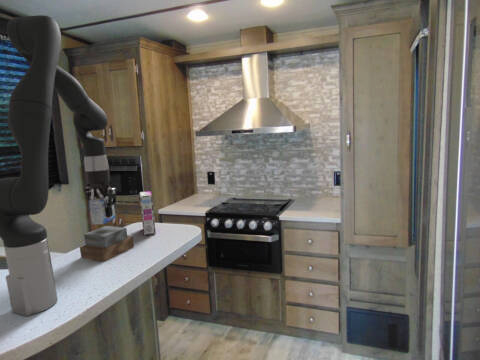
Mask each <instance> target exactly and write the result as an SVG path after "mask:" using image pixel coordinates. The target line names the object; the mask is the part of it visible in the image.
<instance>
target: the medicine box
mask: <svg viewBox="0 0 480 360" xmlns="http://www.w3.org/2000/svg"><path fill="white" fill-rule="evenodd" d="M104 198H107V196H106V197H104ZM106 201H107V203H108V200H106ZM112 201H113V199H112ZM88 205H89V213H90V218H91V223H92V225H105V224H107V223H109V222H111V221H113V220H114V219H116V212H115V204H114V205H112V212H113V214H112V216H111V217H109V218H108V217H106V213H105V205H104V201H103V200H102V199H100V198H95V199H92V200H91V199H90V201H89V204H88Z"/></svg>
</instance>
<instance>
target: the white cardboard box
mask: <svg viewBox="0 0 480 360" xmlns="http://www.w3.org/2000/svg"><path fill="white" fill-rule="evenodd" d="M139 201H140V203H139V204H140V212H141V221H142V230H143V236H144V237H145V236H151V235H152V236H153V235H156V225H155V224H156V222H155V213H154V212H155V211H154V202H153V201H154V200H153V195H152V191H150V190H149V191H140V192H139Z"/></svg>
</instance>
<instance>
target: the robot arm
mask: <svg viewBox="0 0 480 360" xmlns="http://www.w3.org/2000/svg"><path fill="white" fill-rule="evenodd" d="M6 32H7V37H8V39H9V41H10V44H12V46H13V47H14V49H15V50H16V51H17V52H18V53H19V54H20V55H21V56H22V57H23V59H24V60H26V61H27V62H28V63H29V64H30V66H29V68H28V69H27V70H26V72H25V73H24V74H23V76H22V77H21V79H20V80H19V81H18V82H17V84H16V85H15V87H14V88H13V90H12V92H11V95H10V97H9V102H8V110H7V111H8V113H7V126H8V128H9V130H10V133H11V136H12V137H13V138H14V140H15V143H16V144H17V147H18V149H19V152H20V159H21V161H20V162H21V167H20V176H14V177H12V176H11V177H3V178H0V239H1V240H2V242H3V243H2V244H3V247H4V254H5V258H6V263H7V264H6V265H7V269H8V274H7V275H6V276H5V280H6V288H7V291H8V298H9V301H10V307H11V313H15V314H18V315H21V316H24V317H29V316H31V315H33V314H37V313H41V312H43V311H46V310H47V309H51V307H53V306H54V305H56V303H57V302H58V295H57V294H58V293H57V292H58V291H57V290H56V289H57V288H56V283H55V277H54V270H53V264H52V258H51V257H52V256H51V252H50V245H49V240H48V239H49V238H48V233H47V229H46V227H45V225H42V224H40V223H38V222H36V221H35V220H33V219H32V218H31V217H30V216H34V215H38V214H40V213H41V212H43V210H44V209H45V208H46V206H47V203H48V200H49V191H50V190H49V185H50V184H49V181H50V180H49V144H50V143H49V141H50V133H51V124H52V115H53V98H54V97H53V95H54V90H55V92H56V93H57V95H59V97H60V98H61V99H62V101H63V103H64V104H65V106H67V108H68V109H69V110H70V112H72V113H74V115H73V118H72V119H73V121H72V122H73V126H74V129H75V130H76V133H77V135H78V137H79V140H80V143H81V144H82V150H83V151H82V152H83V156H84V162H83V163H84V165H83V166H84V171H85V179H86V183H87V184H89V186H87V187H84V188H83V193H84V195H85V199H86V202H87V204H88V205H89V201H90V200H92V199H95V198H100V199H102V200H103V201H104V205H105V213H106V217H108V218H109V217H111V216H112V214H113V212H112V205H114V206H115V205H116V204H117V191H118V189H117V187H111V186H110V183H109V182H110V181H111V177H110V175H111V174H110V168H109V161H108V157H107V151H106V142H105V139H103V138H101V137H96V136H93V134H92V133H91V132H95V131H103V130H105V129H106V128H107V126H108V117H107V114H106V113H105V110H103V109H102V108H101V106H99V105H98V104H97V103H96V102H95V101H93V100H92V98H90V97H89V96H88V93H86V91H85V89H84V88H83V86H82V84H80V82H79V81H78V80H77V78H75V77H74V76H73V75H72V74H70V73H69V72H67V71H66V70H65V69H63V68H62V67H61V66H59V64H58V63H59V60H60V52H61V49H62V47H61V46H62V34H61V30H60V27H59V24H58V23H57V21H56V20H55V19H54V18H53V17H51V16H49V15H45V14H44V15H41V14H40V15H39V14H37V15H27V16H17V17H13V18H11V19H10V20H9V21H8V22H7V24H6ZM106 196H107V198H104V197H106ZM112 199H113V201H112ZM106 200H108V203H107V201H106Z"/></svg>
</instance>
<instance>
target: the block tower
mask: <svg viewBox="0 0 480 360" xmlns="http://www.w3.org/2000/svg"><path fill="white" fill-rule="evenodd" d="M83 236H84V243H85V244H83V245H81V246H79V251H80V258H82V259H87V260H93V261H97V262H106V261H108V260H110V259H113V258H114V257H117V256H119V255H121V254H123V253H124V252H126V251H129V250H131V249H134V247H135V245H134V237H133V236H128V229H127V227H122V226H114V225H113V226H112V225H104V226H102V227H100V228H97V229H94V230H91V231H89V232H86V233H83Z"/></svg>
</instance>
